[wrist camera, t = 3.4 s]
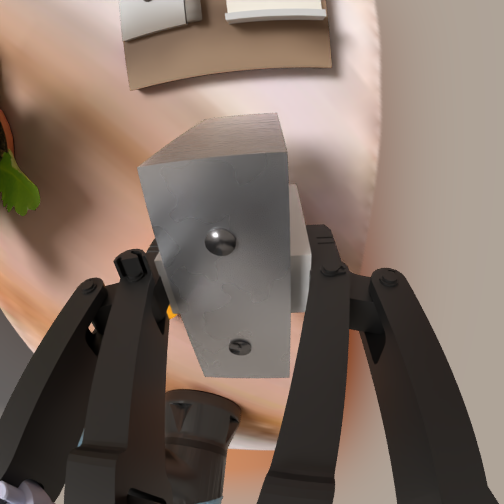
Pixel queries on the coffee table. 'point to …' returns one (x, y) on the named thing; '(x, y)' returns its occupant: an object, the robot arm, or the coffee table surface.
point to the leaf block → (227, 241)
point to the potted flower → (14, 176)
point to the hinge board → (212, 41)
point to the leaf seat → (273, 10)
